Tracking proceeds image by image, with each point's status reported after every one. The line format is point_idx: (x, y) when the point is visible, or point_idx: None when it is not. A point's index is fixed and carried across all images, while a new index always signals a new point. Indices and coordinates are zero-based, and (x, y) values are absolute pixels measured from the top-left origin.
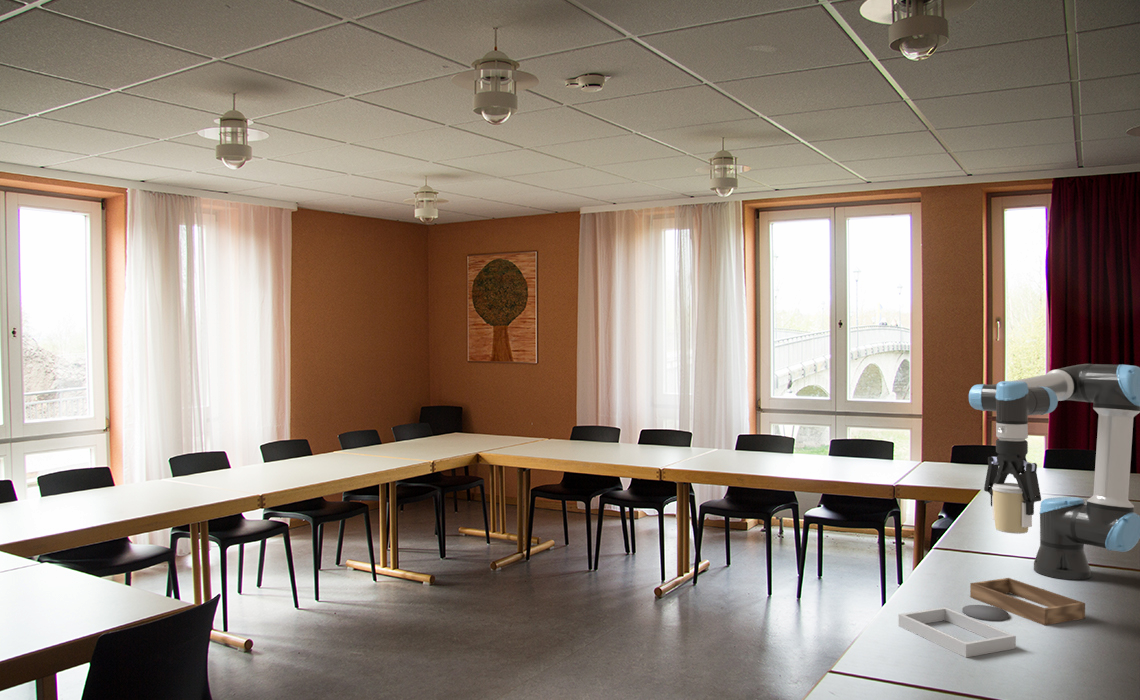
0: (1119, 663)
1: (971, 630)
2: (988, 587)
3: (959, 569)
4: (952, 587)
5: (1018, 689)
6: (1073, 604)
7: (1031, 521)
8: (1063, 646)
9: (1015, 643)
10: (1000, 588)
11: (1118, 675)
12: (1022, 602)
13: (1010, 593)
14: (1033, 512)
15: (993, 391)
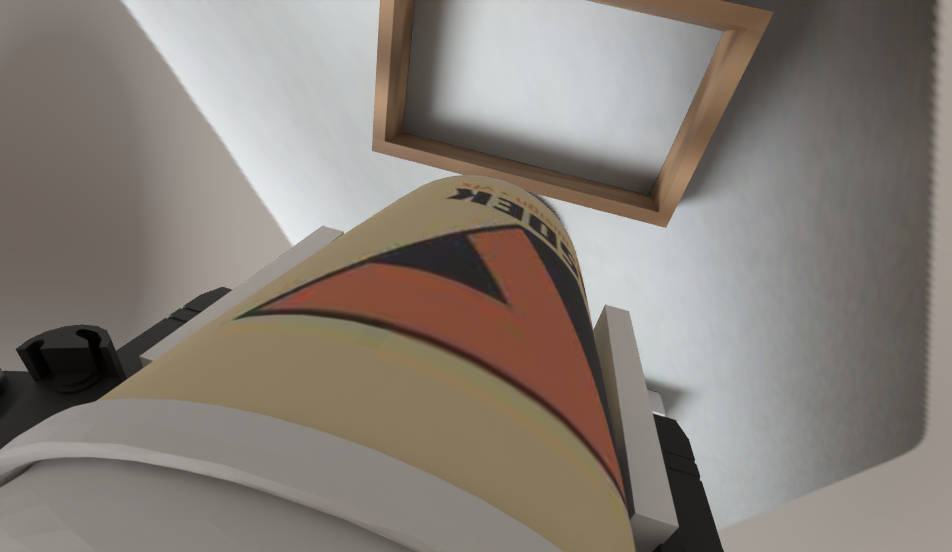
0: (899, 333)
1: None
2: (396, 78)
3: None
4: (298, 90)
5: (729, 522)
6: (734, 79)
7: (634, 344)
8: (746, 319)
9: (662, 402)
10: (405, 10)
11: (898, 396)
12: (581, 205)
13: None
14: (687, 448)
15: None
